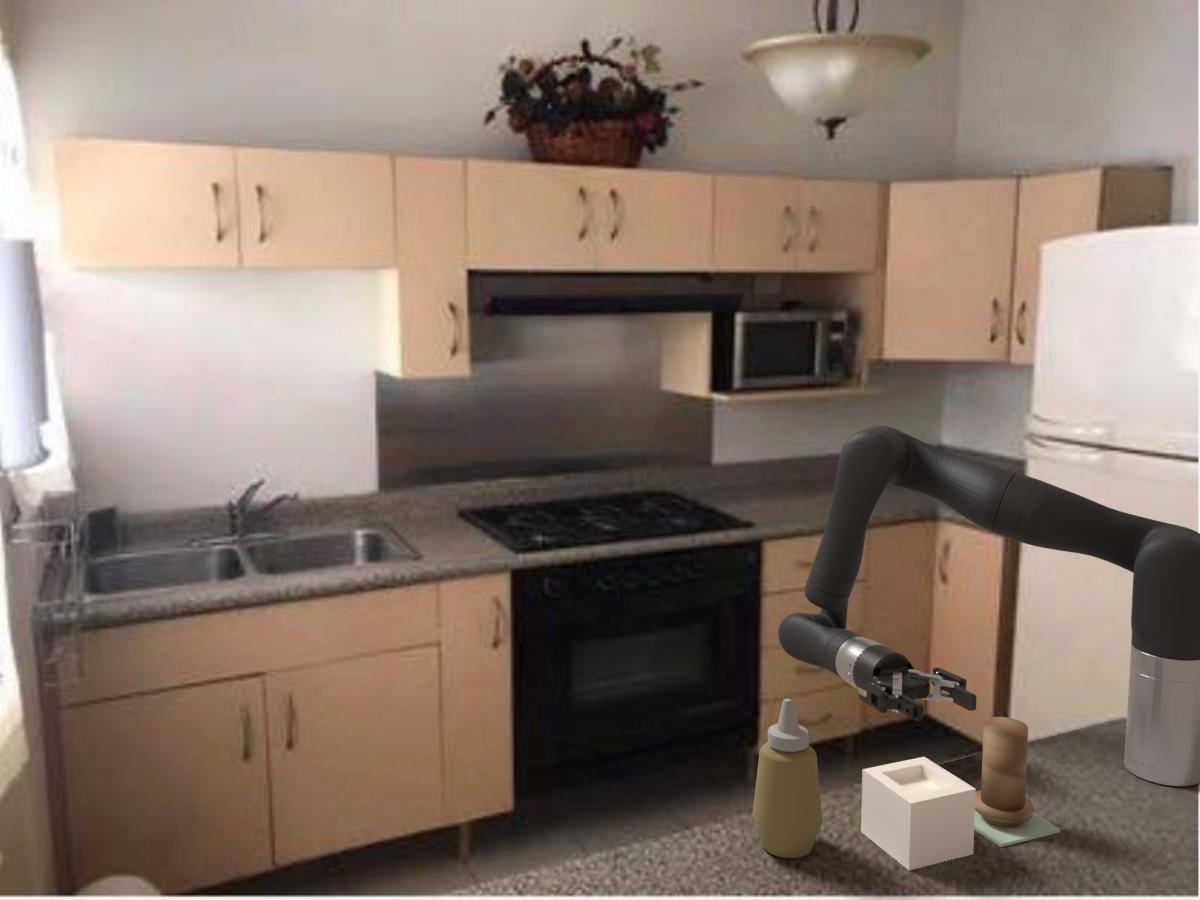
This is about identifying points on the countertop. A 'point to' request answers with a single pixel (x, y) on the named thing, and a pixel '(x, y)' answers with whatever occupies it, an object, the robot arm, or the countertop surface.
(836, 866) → the countertop surface
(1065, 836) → the countertop surface
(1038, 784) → the countertop surface
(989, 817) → the flanged wooden peg
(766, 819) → the squeeze bottle
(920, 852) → the white socket block
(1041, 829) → the mat
